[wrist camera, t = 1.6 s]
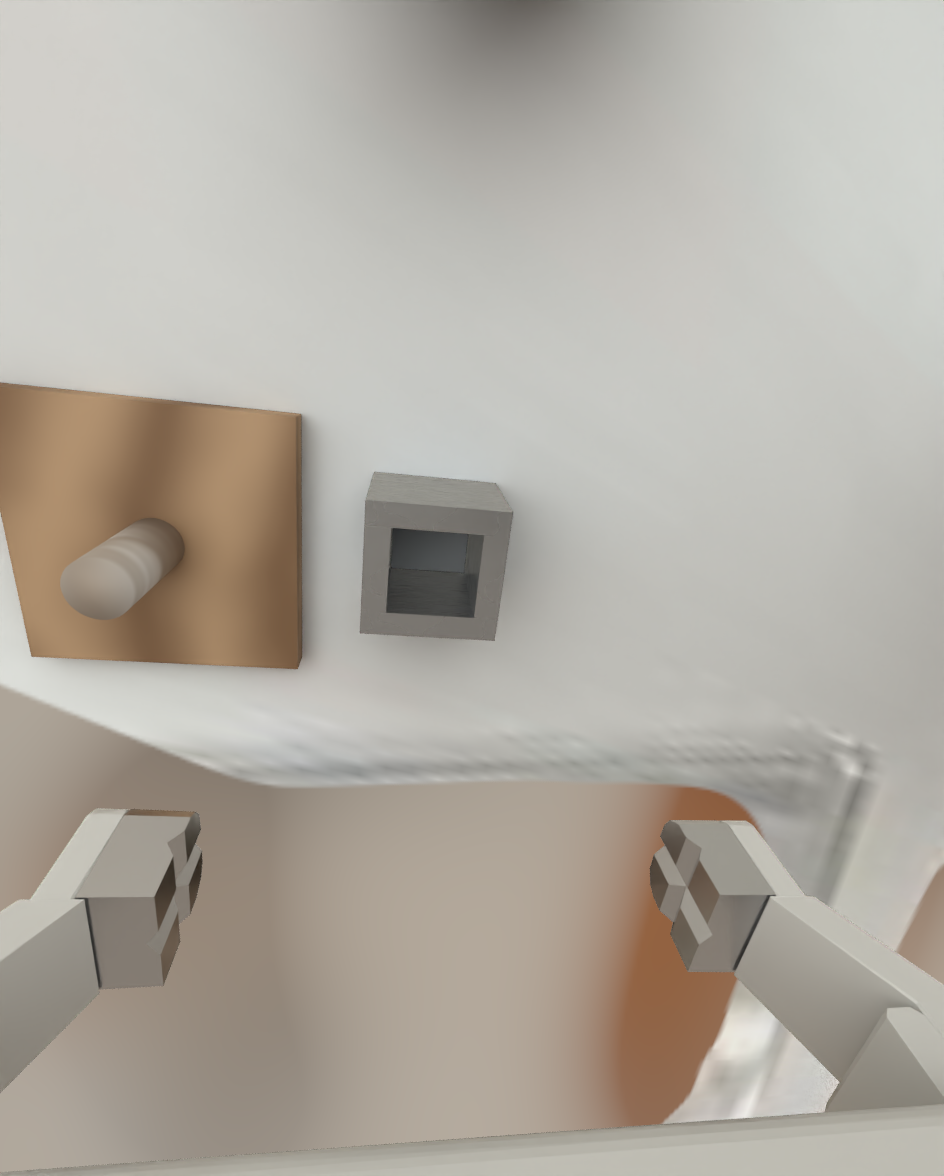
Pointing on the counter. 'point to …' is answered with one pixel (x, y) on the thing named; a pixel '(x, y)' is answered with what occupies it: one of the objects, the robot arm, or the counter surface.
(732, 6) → the counter surface
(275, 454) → the post block
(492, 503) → the square sleeve
